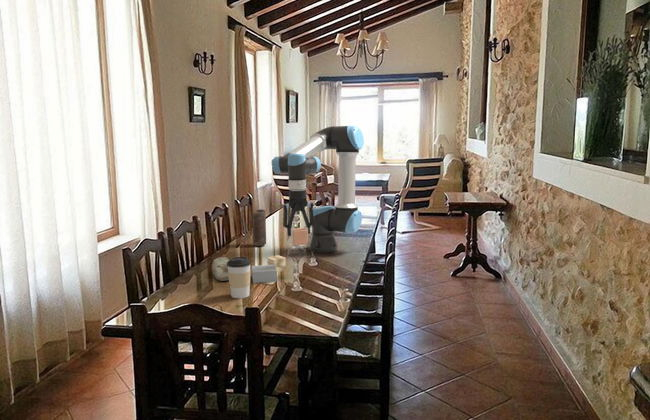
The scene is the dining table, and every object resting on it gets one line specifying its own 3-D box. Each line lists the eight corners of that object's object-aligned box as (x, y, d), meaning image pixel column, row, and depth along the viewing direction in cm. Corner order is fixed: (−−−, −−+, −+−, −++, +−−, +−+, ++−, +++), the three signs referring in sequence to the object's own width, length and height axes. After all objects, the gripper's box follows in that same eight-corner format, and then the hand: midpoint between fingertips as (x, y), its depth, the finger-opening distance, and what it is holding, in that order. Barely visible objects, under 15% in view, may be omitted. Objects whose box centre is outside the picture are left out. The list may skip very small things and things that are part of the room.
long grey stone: (231, 263, 242) (211, 266, 239) (230, 253, 241) (209, 256, 239) (238, 280, 208) (214, 284, 206) (236, 268, 208) (212, 271, 205)
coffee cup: (229, 292, 194) (228, 255, 192) (252, 291, 195) (251, 254, 192) (227, 299, 185) (225, 261, 183) (251, 298, 186) (249, 260, 183)
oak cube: (278, 267, 228) (278, 255, 227) (285, 270, 223) (285, 257, 222) (267, 270, 224) (267, 257, 223) (274, 273, 219) (274, 260, 218)
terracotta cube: (304, 241, 217) (303, 227, 216) (307, 244, 212) (307, 230, 211) (290, 242, 215) (290, 229, 214) (294, 245, 210) (293, 231, 209)
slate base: (274, 275, 217) (274, 264, 216) (277, 282, 207) (276, 270, 206) (252, 277, 215) (251, 266, 214) (253, 283, 205) (252, 272, 204)
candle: (269, 244, 274) (267, 209, 271) (263, 247, 267) (261, 211, 264) (256, 243, 277) (255, 209, 273) (250, 246, 270) (249, 211, 267)
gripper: (277, 191, 203) (279, 246, 207) (321, 189, 209) (322, 242, 213) (273, 189, 210) (275, 242, 214) (316, 187, 216) (317, 238, 220)
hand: (299, 242), depth 213 cm, fingers closed on terracotta cube, 6 cm apart
